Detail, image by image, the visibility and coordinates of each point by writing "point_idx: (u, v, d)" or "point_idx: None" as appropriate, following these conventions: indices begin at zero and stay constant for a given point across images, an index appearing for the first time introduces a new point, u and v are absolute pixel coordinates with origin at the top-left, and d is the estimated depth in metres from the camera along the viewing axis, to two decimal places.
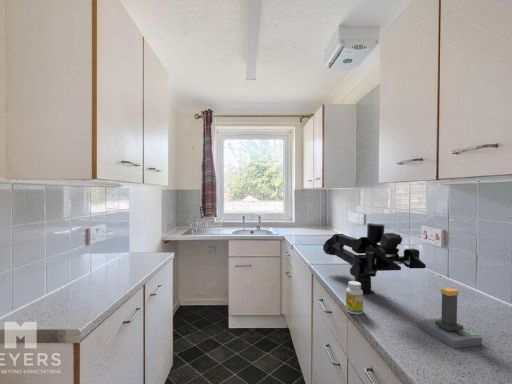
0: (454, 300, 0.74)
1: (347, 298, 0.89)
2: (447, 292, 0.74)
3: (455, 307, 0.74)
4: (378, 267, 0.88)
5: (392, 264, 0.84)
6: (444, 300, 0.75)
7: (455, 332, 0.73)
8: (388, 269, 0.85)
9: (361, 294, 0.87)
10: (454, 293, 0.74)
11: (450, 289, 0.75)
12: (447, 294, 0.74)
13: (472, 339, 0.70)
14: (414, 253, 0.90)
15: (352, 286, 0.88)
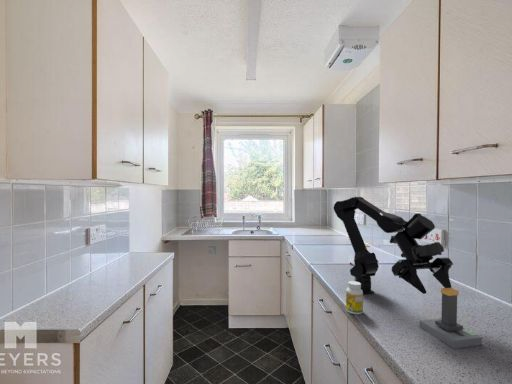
0: (454, 300, 0.74)
1: (347, 298, 0.89)
2: (447, 292, 0.74)
3: (455, 307, 0.74)
4: (401, 276, 0.83)
5: (418, 284, 0.79)
6: (444, 300, 0.75)
7: (455, 332, 0.73)
8: (411, 284, 0.81)
9: (361, 294, 0.87)
10: (454, 293, 0.74)
11: (450, 289, 0.75)
12: (447, 294, 0.74)
13: (472, 339, 0.70)
14: (447, 268, 0.82)
15: (352, 286, 0.88)
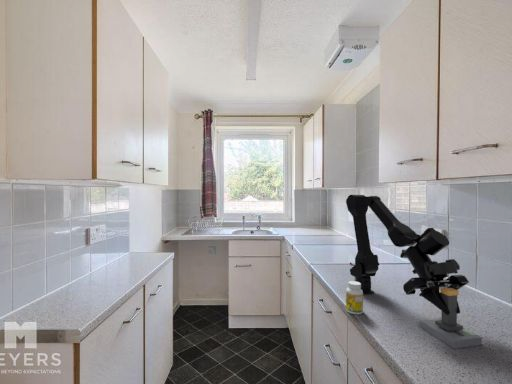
0: (454, 300, 0.74)
1: (347, 298, 0.89)
2: (447, 292, 0.74)
3: (455, 307, 0.74)
4: (422, 294, 0.78)
5: (442, 304, 0.74)
6: (444, 300, 0.75)
7: (455, 332, 0.73)
8: (433, 303, 0.77)
9: (361, 294, 0.87)
10: (454, 293, 0.74)
11: (450, 289, 0.75)
12: (447, 294, 0.74)
13: (472, 339, 0.70)
14: (454, 287, 0.77)
15: (352, 286, 0.88)
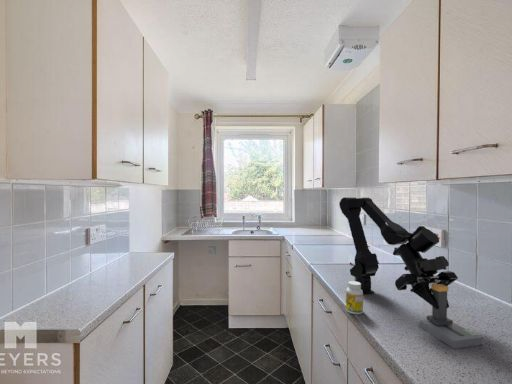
0: (444, 296, 0.77)
1: (347, 298, 0.89)
2: (437, 288, 0.77)
3: (445, 302, 0.77)
4: (413, 290, 0.82)
5: (431, 299, 0.78)
6: (434, 296, 0.78)
7: (455, 332, 0.73)
8: (424, 298, 0.80)
9: (361, 294, 0.87)
10: (444, 289, 0.77)
11: (440, 285, 0.78)
12: (437, 290, 0.77)
13: (472, 339, 0.70)
14: (444, 283, 0.80)
15: (352, 286, 0.88)
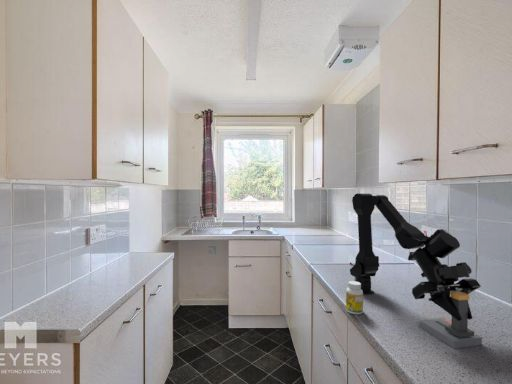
0: (465, 305, 0.71)
1: (347, 298, 0.89)
2: (458, 296, 0.71)
3: (466, 312, 0.71)
4: (432, 299, 0.75)
5: (453, 310, 0.71)
6: None
7: None
8: (444, 308, 0.73)
9: (361, 294, 0.87)
10: (465, 297, 0.71)
11: (460, 293, 0.72)
12: (457, 298, 0.71)
13: (472, 339, 0.70)
14: (466, 292, 0.74)
15: (352, 286, 0.88)
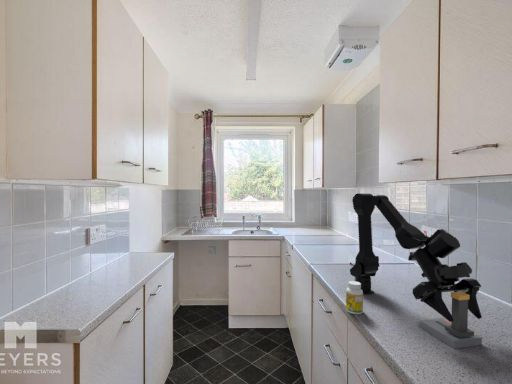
0: (465, 305, 0.71)
1: (347, 298, 0.89)
2: (457, 296, 0.71)
3: (466, 312, 0.71)
4: (424, 300, 0.74)
5: (444, 311, 0.70)
6: (454, 305, 0.72)
7: None
8: (435, 309, 0.72)
9: (361, 294, 0.87)
10: (465, 297, 0.71)
11: (460, 293, 0.72)
12: (457, 298, 0.71)
13: (472, 339, 0.70)
14: (475, 291, 0.74)
15: (352, 286, 0.88)
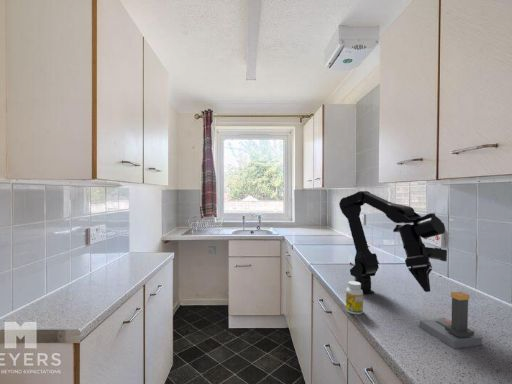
0: (465, 305, 0.71)
1: (347, 298, 0.89)
2: (457, 296, 0.71)
3: (466, 312, 0.71)
4: (412, 269, 0.80)
5: (426, 282, 0.79)
6: (454, 305, 0.72)
7: None
8: (417, 279, 0.80)
9: (361, 294, 0.87)
10: (465, 297, 0.71)
11: (460, 293, 0.72)
12: (457, 298, 0.71)
13: (472, 339, 0.70)
14: (430, 271, 0.88)
15: (352, 286, 0.88)
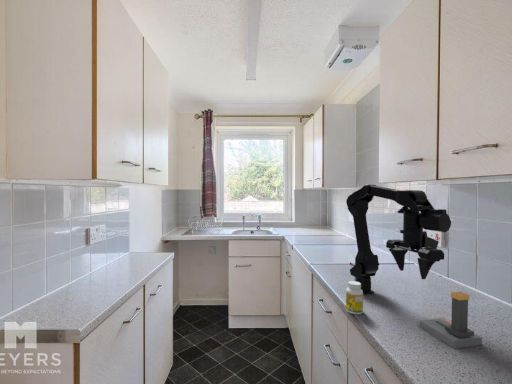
0: (465, 305, 0.71)
1: (347, 298, 0.89)
2: (457, 296, 0.71)
3: (466, 312, 0.71)
4: None
5: (427, 272, 0.83)
6: (454, 305, 0.72)
7: None
8: (423, 268, 0.82)
9: (361, 294, 0.87)
10: (465, 297, 0.71)
11: (460, 293, 0.72)
12: (457, 298, 0.71)
13: (472, 339, 0.70)
14: None
15: (352, 286, 0.88)
